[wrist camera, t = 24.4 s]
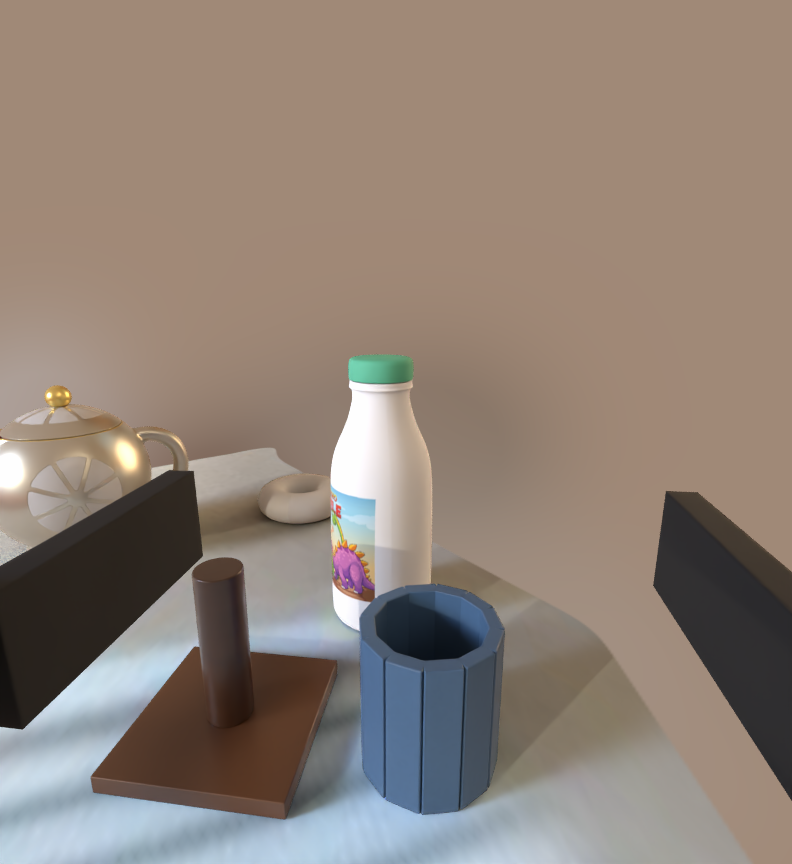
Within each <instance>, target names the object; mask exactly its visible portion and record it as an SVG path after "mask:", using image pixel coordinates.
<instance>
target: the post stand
mask: <svg viewBox="0 0 792 864" xmlns="http://www.w3.org/2000/svg"><path fill="white" fill-rule="evenodd" d="M192 582H193V591H194V600H195V610H196V619H197V628H198V637H199V647H194V648H193V649H192V650H191V651H190V653H189V654H188V655H187V656H186V658H185V659H184V660H183V661H182V663H181V664H180V665H179V667H178V668H177V669H176V670H175V672H174V673H173V674H172V675H171V677H170V678H169V679H168V680H167V682H166V683H165V684H164V685H163V687H162V688H161V689H160V690H159V692H158V693H157V694H156V695H155V697H154V698H153V699H152V700H151V702H150V703H149V704H148V705H147V707H146V708H145V709H144V710H143V712H142V713H141V714H140V715H139V717H138V718H137V719H136V720H135V722H134V723H133V724H132V725H131V727H130V728H129V729H128V731H127V732H126V733H125V734H124V736H123V737H122V738H121V739H120V741H119V742H118V743H117V744H116V746H115V747H114V748H113V749H112V751H111V752H110V753H109V754H108V756H107V757H106V758H105V759H104V761H103V762H102V763H101V764H100V766H99V767H98V768H97V769H96V771H95V772H94V773H93V774H92V776H91V783H92V788H93V792H94V793H101V794H108V795H115V796H122V797H129V798H136V799H143V800H150V801H157V802H164V803H171V804H178V805H185V806H193V807H200V808H207V809H214V810H221V811H228V812H235V813H242V814H249V815H256V816H263V817H270V818H277V819H284V820H285V819H286V817H287V814H288V811H289V808H290V806H291V803H292V800H293V797H294V794H295V792H296V789H297V786H298V783H299V780H300V777H301V775H302V772H303V769H304V766H305V763H306V760H307V758H308V755H309V752H310V749H311V746H312V744H313V741H314V738H315V735H316V732H317V729H318V727H319V724H320V721H321V718H322V715H323V713H324V710H325V707H326V704H327V701H328V698H329V696H330V693H331V690H332V687H333V684H334V682H335V679H336V676H337V673H338V671H337V660H327V659H317V658H307V657H296V656H286V655H276V654H266V653H255V652H250V643H249V630H248V618H247V605H246V593H245V580H244V567H243V564H242V562H241V561H239V560H237V559H234V558H216V559H211V560H208V561H205V562H203V563H201V564H199V565H198V566H197V567H195V568H194V570H193V572H192Z"/></svg>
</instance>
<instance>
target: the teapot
mask: <svg viewBox="0 0 792 864" xmlns="http://www.w3.org/2000/svg"><path fill="white" fill-rule="evenodd" d="M71 397H72V396H71V393H70V391H69V390H68V389H67V388H65V387H63V386H58V385H57V386H52V387H50V388H49V389H47V391H46V392H45V401H46V402H47V403H48V405H50V406H47V407H43V408H40V409H36V410H33V411H31V412H28V413H26V414H24V415H22V416H20V417H18V418H17V419H15V420H13V421H12V422H10V423H9V424H8V425H6V426H5V427H4V428H3V429H0V530H1V531H2V532H4V533H5V534H6V535H8V536H9V537H11V538H12V539H14V540H16V541H18V542H20V543H22V544H24V545H27V546H28V547H27V549H26V551H28V550H30V549H32V548H33V547H35V546H37V545H39V544H40V543H42V542H44V541H46V540H47V539H49V538H51V537H53V536H54V535H56V534H58V533H60V532H61V531H63V530H65V529H67V528H68V527H70V526H72V525H74V524H76V523H77V522H79V521H81V520H83V519H84V518H86V517H88V516H90V515H91V514H93V513H95V512H97V511H98V510H100V509H102V508H104V507H105V506H107V505H109V504H111V503H112V502H114V501H116V500H118V499H120V498H121V497H123V496H125V495H127V494H128V493H130V492H132V491H134V490H135V489H137V488H139V487H141V486H142V485H144V484H146V483H148V482H149V481H151V464H150V459H149V456H148V453H147V451H146V448H145V446H144V443H145V442H146V441H154V442H158V443H161V444H163V445H165V446H166V447H167V448H168V449H169V450H170V452H171V454H172V457H173V463H174V466H173V470H177V471H188V455H187V451H186V448H185V446H184V444H183V443H182V441H181V440H180V439H179V438H178V437H177V436H176V435H175V434H173V433H172V432H170V431H167V430H165V429H162V428H158V427H139V428H131V427H130V426H128V425H127V424H126V423H125V422H123V421H122V420H120V419H119V418H118V417H116V416H114V415H112V414H110V413H108V412H106V411H103V410H100V409H97V408H94V407H90V406H84V405H75V404H69V403H70V402H71V399H72V398H71Z"/></svg>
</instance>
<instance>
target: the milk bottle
mask: <svg viewBox="0 0 792 864" xmlns="http://www.w3.org/2000/svg"><path fill="white" fill-rule="evenodd" d="M348 373H349V379H350V385H349V387H350V388H351V389H352V404H351V408H350V412H349V416H348V419H347V422H346V424H345V427H344V429H343V432H342V434H341V436H340V438H339V441H338V443H337V446H336V449H335V452H334V456H333V461H332V468H331V494H330V499H331V543H332V576H333V599H334V608H335V611H336V613H337V615H338V616H339V618H340V619H341V621H343V622H344V623H345V624H346V625H348V626H350V627H351V628H353V629H356V630H359V618H360V615H361V613H362V612H363V611H364V610H365V609H366V608H367V606H368V605H369V604H370V603H371V602H372V601H373V599H374V598H377V596H379V595H381V594H384V593H386V592H389V591H391V590H394V589H397V588H399V587H404V588H405V585H422V584H431V548H432V472H431V463H430V458H429V453H428V450H427V447H426V444H425V442H424V440H423V438H422V435H421V433H420V431H419V428H418V426H417V423H416V421H415V418H414V415H413V411H412V407H411V403H410V389H411V388H412V387H413V385H412V378H413V360H412V359H411V358H410V357H407V356H401V355H400V356H399V355H362V356H355V357H352V358H351V359H350V360H349V364H348Z"/></svg>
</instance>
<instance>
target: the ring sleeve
mask: <svg viewBox="0 0 792 864" xmlns="http://www.w3.org/2000/svg"><path fill="white" fill-rule="evenodd" d="M504 630H505V629H504V626H503V624H502V622H501V620H500V618H499V616H498V614H497V612H496V611H495V609H494V608H493V607H492V606H491V605H490V604H488V603H486V602H485V601H483V600H482V599H480V598H479V597H477V596H475V595H474V594H472V593H471V592H467V591H466V590H462V589H458V588H453V587H449V586H445V585H440V584H437V586H436V584H422V585H405V588H404V587H399V588H397V589H394V590H391V591H389V592H386V593H384V594H381V595H379V596H377V598H374V599H373V601H372V602H371V603H370V604H369V605H368V606H367V608H366V609H365V610H364V611H363V612H362V613H361V615H360V618H359V632H360V688H361V743H362V763H363V770H364V773H365V774H366V776H367V777H368V778H369V780H370V781H371V782H372V784H373V785H374V786H375V788H376V789H377V790H378V792H379V793H380V794H381V796H382V797H383V798H385V797H386V800H387V801H389V802H392V803H394V804H396V805H399V806H401V807H403V808H406V809H408V810H411V811H413V812H415V813H418V814H419V813H420V811H421V812H422V815H426V814H436V813H446V812H456V811H458V810H459V808H460V809H463V808H464V807H466V806H467V805H468V804H470V803H471V802H472V801H473V800H475V799H476V798H477V797H479V796H480V795H481V794H483V793H484V792H485V791H486V790H487V787H489V786H490V782H491V779H492V775H493V772H494V769H495V765H496V762H497V750H498V734H499V718H500V702H501V686H502V670H503V654H504V638H505V631H504Z"/></svg>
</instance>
